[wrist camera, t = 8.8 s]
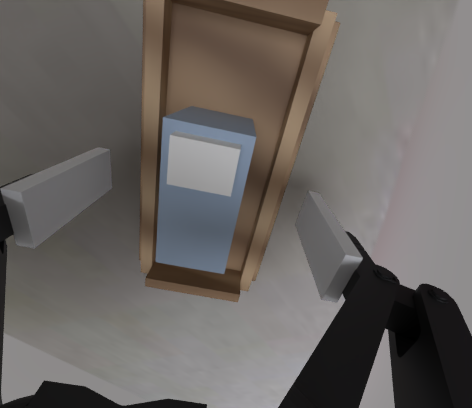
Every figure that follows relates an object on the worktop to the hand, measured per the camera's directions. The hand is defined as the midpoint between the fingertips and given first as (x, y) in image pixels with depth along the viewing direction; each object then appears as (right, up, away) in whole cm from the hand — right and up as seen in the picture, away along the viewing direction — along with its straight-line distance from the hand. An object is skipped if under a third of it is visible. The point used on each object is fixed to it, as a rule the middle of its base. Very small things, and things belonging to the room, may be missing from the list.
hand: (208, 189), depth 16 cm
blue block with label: (0, +2, +3) cm, 4 cm away
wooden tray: (0, +2, +5) cm, 5 cm away
